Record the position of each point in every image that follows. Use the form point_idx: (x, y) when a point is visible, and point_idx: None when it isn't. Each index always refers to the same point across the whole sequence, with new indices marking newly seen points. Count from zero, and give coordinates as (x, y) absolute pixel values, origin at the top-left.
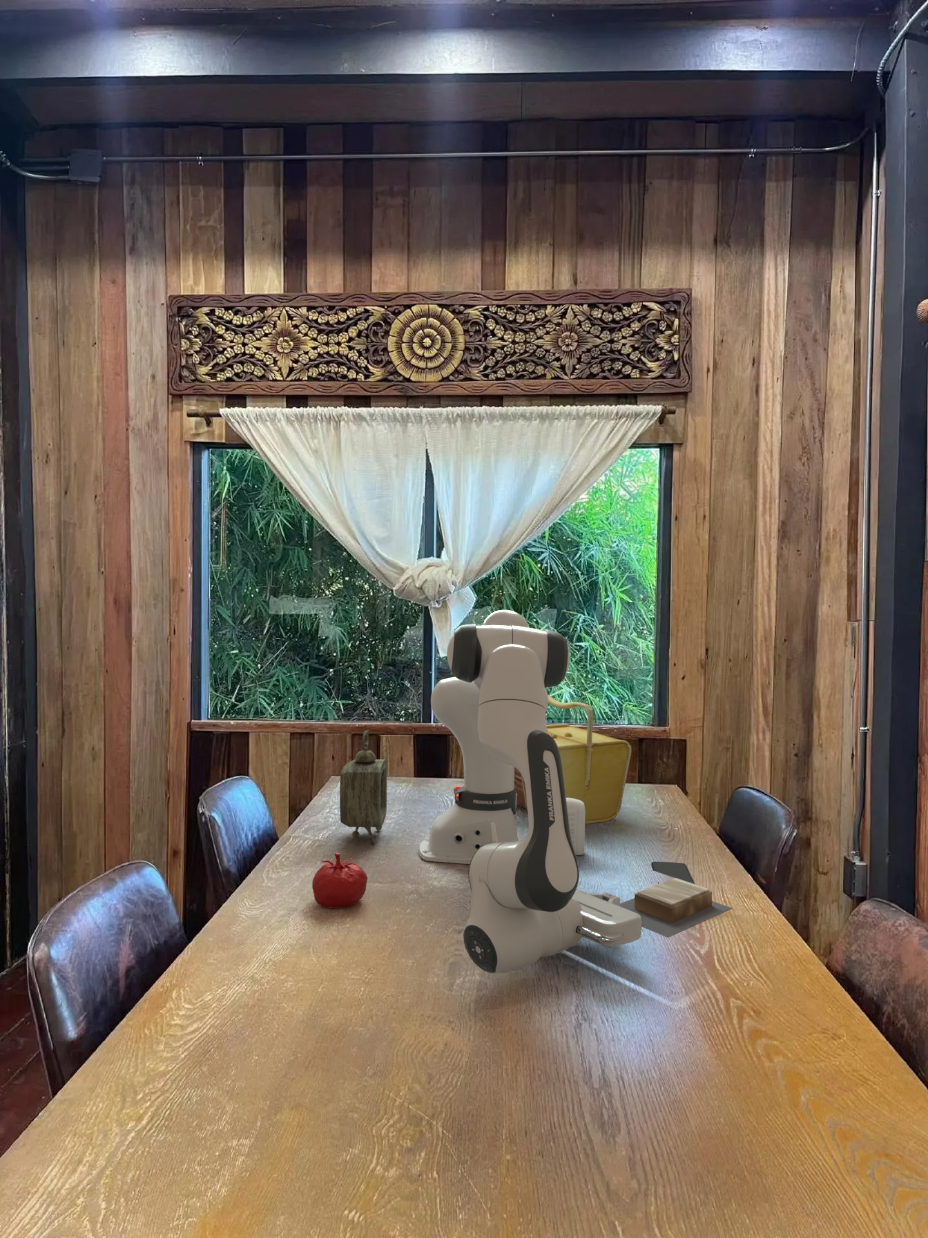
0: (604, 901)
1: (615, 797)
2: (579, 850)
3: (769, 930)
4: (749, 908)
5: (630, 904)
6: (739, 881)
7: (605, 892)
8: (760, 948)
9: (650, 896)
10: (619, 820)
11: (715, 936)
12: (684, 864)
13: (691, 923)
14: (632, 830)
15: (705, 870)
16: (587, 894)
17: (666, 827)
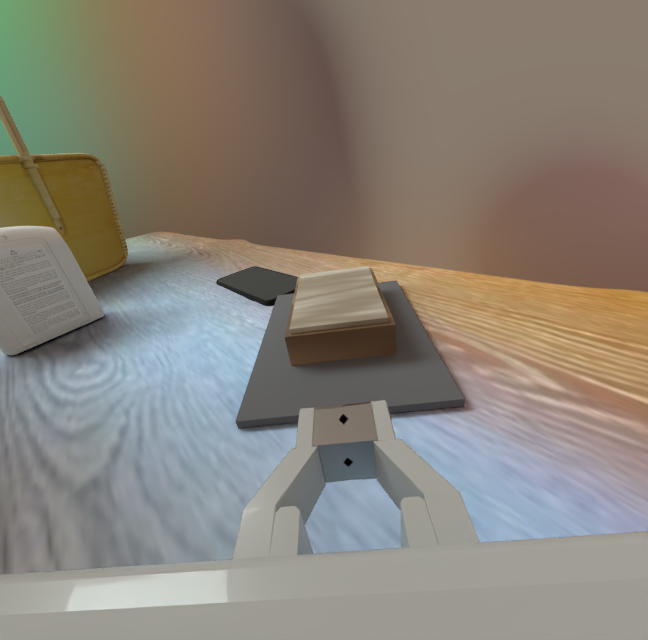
0: (522, 583)
1: (114, 237)
2: (92, 312)
3: (477, 283)
4: (398, 273)
5: (273, 361)
6: (331, 256)
7: (302, 413)
8: (548, 312)
9: (326, 323)
10: (133, 263)
11: (473, 332)
12: (255, 267)
13: (417, 332)
14: (156, 265)
15: (283, 263)
16: (292, 591)
17: (191, 250)
